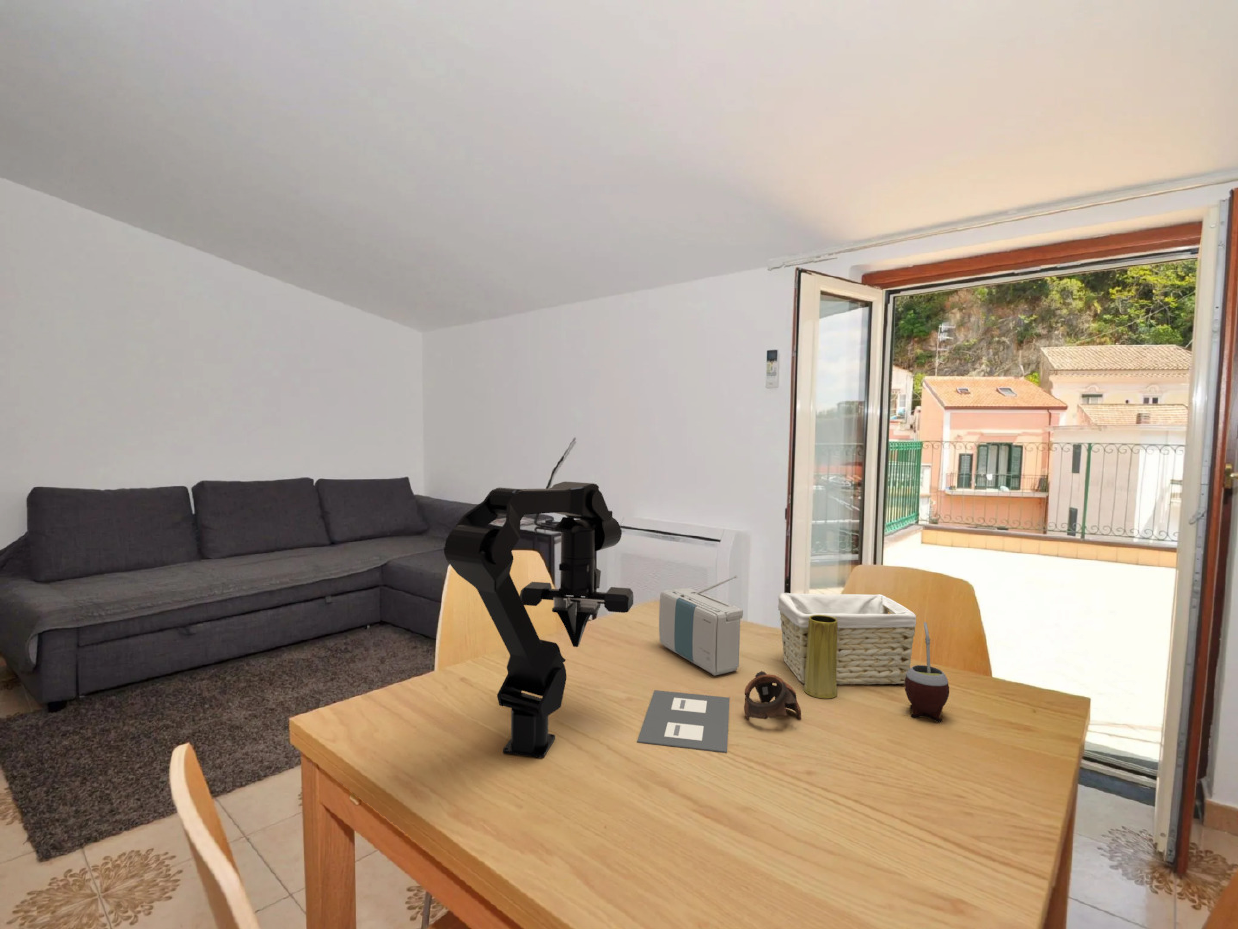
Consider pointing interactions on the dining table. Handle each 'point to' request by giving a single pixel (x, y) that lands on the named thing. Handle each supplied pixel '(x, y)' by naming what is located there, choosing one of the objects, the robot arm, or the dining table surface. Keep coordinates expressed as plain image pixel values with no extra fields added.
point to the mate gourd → (926, 688)
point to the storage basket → (852, 635)
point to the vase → (821, 657)
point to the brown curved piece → (770, 697)
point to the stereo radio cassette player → (701, 628)
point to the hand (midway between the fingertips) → (576, 646)
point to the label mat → (686, 721)
